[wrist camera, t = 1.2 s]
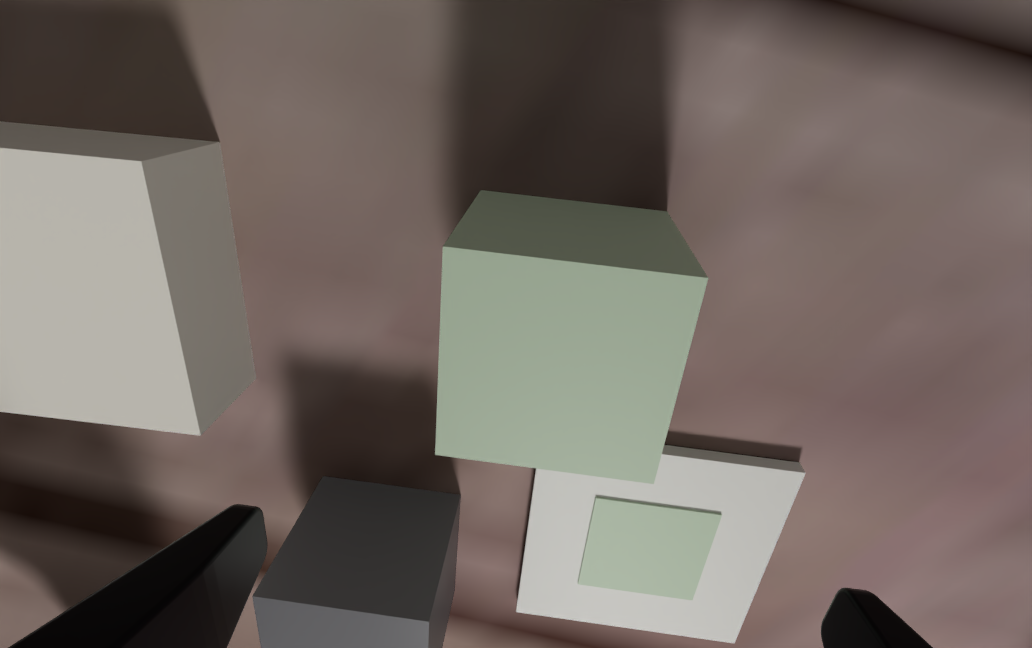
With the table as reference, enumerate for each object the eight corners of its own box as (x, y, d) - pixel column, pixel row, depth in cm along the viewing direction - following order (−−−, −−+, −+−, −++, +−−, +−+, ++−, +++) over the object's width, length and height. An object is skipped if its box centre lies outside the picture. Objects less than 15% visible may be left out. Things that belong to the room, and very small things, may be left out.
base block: (260, 374, 22) (200, 435, 19) (45, 349, 23) (-53, 405, 19) (225, 140, 18) (141, 161, 15) (-34, 116, 19) (-178, 130, 15)
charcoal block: (454, 589, 26) (425, 726, 21) (331, 571, 27) (270, 702, 21) (461, 493, 24) (429, 621, 18) (323, 474, 24) (252, 596, 19)
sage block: (631, 371, 20) (653, 484, 15) (470, 350, 21) (435, 454, 15) (666, 210, 18) (708, 278, 12) (481, 189, 18) (442, 246, 13)
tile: (730, 631, 26) (734, 645, 25) (517, 600, 26) (516, 613, 26) (799, 462, 21) (806, 474, 21) (541, 428, 22) (540, 439, 21)
